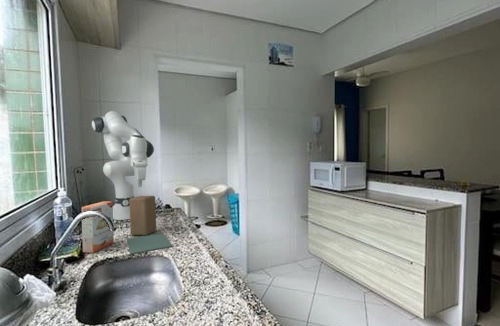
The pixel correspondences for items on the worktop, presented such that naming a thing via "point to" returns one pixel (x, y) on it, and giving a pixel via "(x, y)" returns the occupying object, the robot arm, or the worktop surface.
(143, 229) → the wooden block
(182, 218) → the worktop surface
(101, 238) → the cracker box
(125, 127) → the robot arm
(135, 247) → the mat
